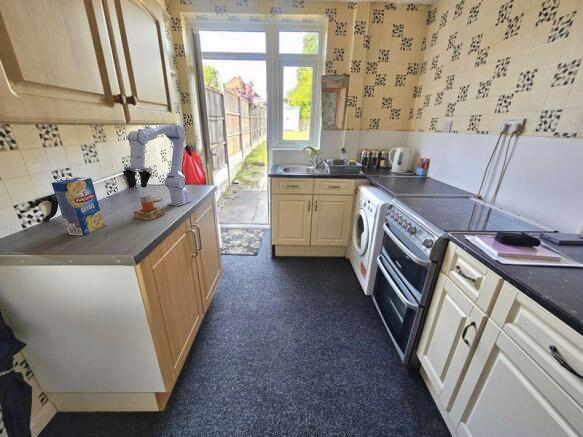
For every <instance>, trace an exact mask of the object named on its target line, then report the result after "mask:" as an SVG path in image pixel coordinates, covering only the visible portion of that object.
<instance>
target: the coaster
mask: <svg viewBox="0 0 583 437" xmlns="http://www.w3.org/2000/svg"><path fill="white" fill-rule="evenodd" d="M152 199H153V203H157V202H160V201H161V200H162V199H161V197H152Z"/></svg>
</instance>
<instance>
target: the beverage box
mask: <svg viewBox="0 0 583 437" xmlns="http://www.w3.org/2000/svg"><path fill="white" fill-rule="evenodd" d="M51 186H52V189H53V193H54V195H55V198H56V201H57V204H58V207H59V211H60V214H61V216H62V219H63V223H64V226H65V228H66V231H67V234H68V236H86V235H88V234H90V233H92V232H95V231H96V230H98V229H100V228H103V227H105V223H104V220H103V216H102V212H101V208H100V204H99V201H98V197H97V193H96V191H95V190H96V189H95V186H94V182H93V179H92V177H76V176H75V177H71V178H67V179H63V180H58V181H53V182H51Z"/></svg>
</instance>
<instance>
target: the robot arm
mask: <svg viewBox="0 0 583 437" xmlns="http://www.w3.org/2000/svg"><path fill="white" fill-rule="evenodd" d="M160 135H164V136H165V137H166V138H167V139H168V140H169V141H170V142H171V143H172V144H173V146H172V156H171V157H172V158H171V165H170V171H169V172H168V173H166V177H165V180H164V185H165V187H166V188H168V191H169V195H170V201H171V202H169V203H168V205H170V206H178V207H180V206H183V205H185V204H187V203H189V202H191V200H190V199H189V193H188V190H187V188H186V176H185V175H184V174H183V173H182V167H183V158H184V148H185V140H186V130H185V128H184V126H183V125H181V124H162V125H159V126H157V127H151V126H147V125H146V126H145V127H144V128H138V129H137V130H131V131H129V132H128V134H127V135H126V139H127V141H128V143H129V145H128V146H129V147H130V150H129V151H130V158H129V160H130V162H129V165H123V171H122V173H123V174H124V176H125V179H126V182H127V186H128V187H134V186H135V178H136V175H137V172H138V175H139V178H140V187H141V188H144V189H145V188H147V186H148V183H149V181H150V178H151V177H152V176H153V173H152V172H153V171H152V170H153V169H152V167H146V145H147V144H148V143H149V142H150V141H154V140H156V139H157V138H158V136H160Z"/></svg>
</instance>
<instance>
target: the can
mask: <svg viewBox="0 0 583 437" xmlns="http://www.w3.org/2000/svg"><path fill="white" fill-rule="evenodd" d="M152 198H153V194H151V193H143V194H140V195H139V200H140V206H141V209H142V210H143V212H151V211H153V210H154V207H155V204H154V202H153V199H152Z"/></svg>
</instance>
